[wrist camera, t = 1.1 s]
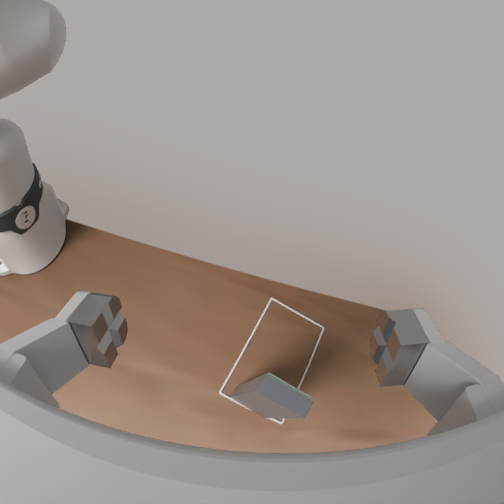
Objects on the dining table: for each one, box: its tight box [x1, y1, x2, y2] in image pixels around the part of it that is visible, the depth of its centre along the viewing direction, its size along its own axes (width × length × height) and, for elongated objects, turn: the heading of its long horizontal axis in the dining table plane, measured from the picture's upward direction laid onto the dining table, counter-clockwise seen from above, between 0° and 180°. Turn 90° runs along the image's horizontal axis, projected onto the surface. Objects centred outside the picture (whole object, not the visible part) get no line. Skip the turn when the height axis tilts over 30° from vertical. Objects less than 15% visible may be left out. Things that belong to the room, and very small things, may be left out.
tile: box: [230, 372, 313, 418], centre depth 32 cm, size 6×2×14 cm, turn 59°
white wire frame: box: [219, 297, 325, 424], centre depth 42 cm, size 11×1×18 cm
